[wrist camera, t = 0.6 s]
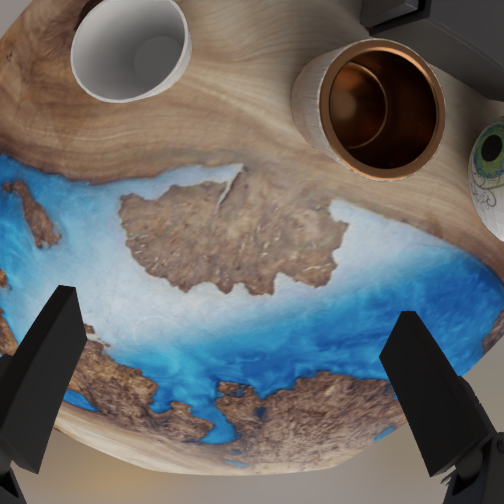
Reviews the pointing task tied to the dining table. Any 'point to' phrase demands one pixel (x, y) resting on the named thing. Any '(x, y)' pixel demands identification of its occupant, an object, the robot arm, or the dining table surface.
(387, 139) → the planter
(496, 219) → the decorative object
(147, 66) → the cup
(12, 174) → the dining table surface
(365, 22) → the drawer
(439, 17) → the cabinet
